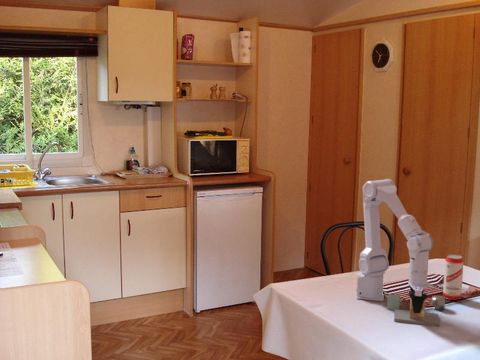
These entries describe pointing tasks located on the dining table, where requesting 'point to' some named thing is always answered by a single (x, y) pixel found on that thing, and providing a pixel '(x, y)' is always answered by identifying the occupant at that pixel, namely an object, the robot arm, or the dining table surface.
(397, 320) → the slate board
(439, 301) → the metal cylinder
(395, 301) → the olive green cube
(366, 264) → the robot arm
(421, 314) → the oak block
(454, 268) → the beer can
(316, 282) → the dining table surface
